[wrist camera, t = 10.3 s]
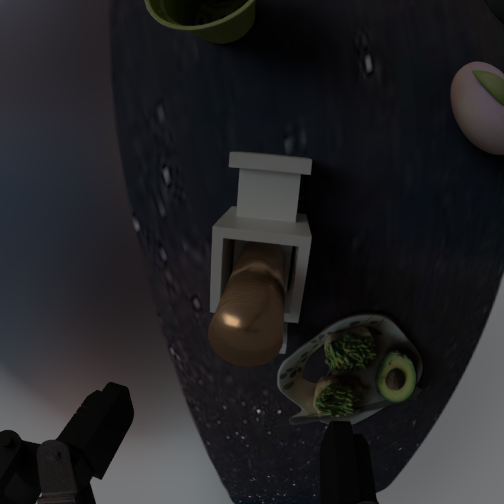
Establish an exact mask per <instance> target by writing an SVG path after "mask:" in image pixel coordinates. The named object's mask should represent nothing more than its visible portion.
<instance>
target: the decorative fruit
mask: <svg viewBox="0 0 504 504" xmlns="http://www.w3.org/2000/svg"><path fill="white" fill-rule="evenodd" d="M451 104H452V109H453V114H454V117H455V119H456V121H457V123H458V125H459V127H460V129H461V130H462V132H463V133H464V135H465V136H466V137H467V138H468V140H469V141H470V142H472V143H473V144H474V145H475V146H477V147H478V148H480V149H481V150H483V151H486V152H488V153H491V154H495V155H504V74H503V73H502V72H501V71H500V70H499V69H497V68H495V67H494V66H492V65H489V64H487V63H484V62H472V63H469V64H467V65H465V66H464V67H462V68H461V69H460V70H459V71H458V72H457V74H456V75H455V77H454V79H453V82H452V85H451Z"/></svg>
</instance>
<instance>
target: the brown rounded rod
mask: <svg viewBox="0 0 504 504" xmlns="http://www.w3.org/2000/svg"><path fill="white" fill-rule="evenodd" d="M285 266H286V257H285V253H284V250H283V248H282V247H281V246H280V245H279V244H273V243H264V242H255V241H249V242H247V243H246V244H245V246H244V247H243V249H242V251H241V253H240V255H239V258H238V260H237V262H236V265H235V267H234V269H233V272H232V274H231V276H230V278H229V281H228V283H227V285H226V288H225V290H224V292H223V295H222V297H221V299H220V302H219V304H218V307H217V309H216V311H215V314H214V316H213V318H212V321H211V323H210V325H209V329H208V337H209V341H210V344H211V346H212V348H213V349H214V351H215V352H216V353H217V354H218V355H219V356H220V357H221V358H223V359H224V360H226V361H228V362H229V363H232V364H235V365H238V366H244V367H254V366H259V365H263V364H266V363H268V362H269V361H271V360H272V359H274V358H275V357H276V356H277V355H278V353H279V352H280V350H281V348H282V345H283V334H284V305H285Z"/></svg>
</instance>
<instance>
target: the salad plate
mask: <svg viewBox="0 0 504 504" xmlns="http://www.w3.org/2000/svg"><path fill="white" fill-rule="evenodd" d="M323 344H324V348H325V353H326V357H327V358H326V360H325V363H326V364H329V371H328V373H327V375H326V376H324V377H321V378H320V379H319V381H318V382H317V383H312V382H309V381H307V380H305V379H303V378H302V372H303V368H304V366H305V363H306V361H307V359H308V358H309V357H310V356H311V354H312V353H313V352H314V351H315V350H317V349H318V348H319V347H320V346H321V345H323ZM422 368H423V364H422V359H421V356H420V354H419V352H418V351H417V349H416V348H415V346H414V344H413V343H412V342H411V341H410V340H409V339H408V337H407V336H406V335H405V333H404V332H403V331H402V329H401V327H400V326H399V324H398V323H397V322H396V321H395V320H394V319H393V318H392V317H391V316H390V315H388V314H386V313H384V312H375V311H361V312H356V313H351V314H348V315H346V316H344V317H341V318H339V319H337V320H334V321H333V322H331V323H329V324H328V325H326V326H325V327H324V328H323V329H322V331H321V332H320V333H319V334H317V335H316V336H315V337H313V338H312V339H311V340H309V341H307V342H306V343H305V344H303V345H302V346H300V347H299V348H298V349H297V350H296V351H295V352H294V353H293V354H292V355H290V356H289V357H288V358H287V359H285V360H284V361H283V363H282V364H281V366H280V368H279V370H278V372H277V387H278V388H279V389H280V391H281V392H282V393H283V394H284V395H285V396H287V397H288V398H289V399H291V400H292V401H293V402H295V403H296V404H297V405H299V406H300V407H301V409H302V410H301V412H300V413H298V414H297V415H295V416H292V417H291V418H290V419H289V423H290V424H291V425H299V424H305V423H311V422H317V421H321V422H323V423H326V424H329V423H330V421H350V422H351V424H355V423H357V422H359V421H361V420H363V419H365V418H367V417H369V416H371V415H372V414H374V413H376V412H377V411H379V410H381V409H382V408H384V407H385V406H389V405H392V404H395V403H396V404H398V403H401V402H404V401H407V400H409V399H412V398H414V397H416V396H418V395H419V393H420V392H421V391H422V389H420V388H418V387H417V383H418V381H419V379H420V377H421V374H422Z"/></svg>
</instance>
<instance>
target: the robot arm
mask: <svg viewBox="0 0 504 504" xmlns="http://www.w3.org/2000/svg"><path fill="white" fill-rule="evenodd" d="M486 2H487V4H488V5H489V7H490V8H491V9H492V11H493V12H494V13H495V14H496V16H497V17H498V18H499V19H500V20H501V21H502V22H503V23H504V0H486ZM133 418H134V409H133V405H132V401H131V397H130V393H129V389H128V388H127V387H126V386H122V385H119V384H116V383H113V382H109V383H108V384H107V385H106V386H105V388H104V389H103V391H99V390H96V391H95V392H93V393H92V394H90V395H89V396H87V397H86V399H85V400H84V402H83V403H82V404H81V407H79V408H78V410H77V411H76V413H75V414H74V415H73V417H72V418H71V420H70V421H69V422H68V424H67V425H66V427H65V428H64V430H63V431H62V432H61V434H60V435H59V436H58V438H57V439H56V440H48V441H45V442H43V443H42V444H36V443H32V442H27V441H23V440H22V439H21V438H20V437H19V435H18V434H17V433H16V432H14V431H12V430H4V431H1V432H0V504H35V503H36V501H37V500H38V501H37V503H38V504H96V502H95V498H94V495H93V492H92V488H91V484H90V480H91V479H92V477H96V478H98V479H100V480H102V478H103V476H104V474H105V472H106V470H107V468H108V467H109V464H110V462H111V461H112V459H113V457H114V455H115V453H116V452H117V450H118V448H119V446H120V444H121V442H122V440H123V439H124V437H125V435H126V433H127V431H128V429H129V427H130V426H131V424H132V421H133ZM41 492H42V496H41V497H39V495H40V494H41ZM320 504H379V503H378V501H377V498H376V491H375V484H374V477H373V470H372V466H371V457H370V451H369V445H368V443H367V441H366V440H365V438H364V437H363V435H362V434H353V432H352V425H351V422H350V421H330V423H329V425H328V428H327V430H326V433H325V435H324V438H323V440H322V443H321V447H320Z"/></svg>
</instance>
